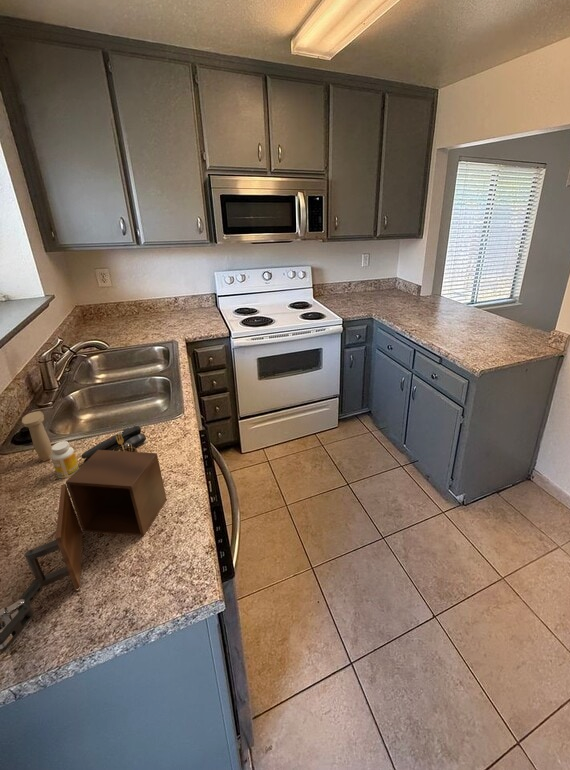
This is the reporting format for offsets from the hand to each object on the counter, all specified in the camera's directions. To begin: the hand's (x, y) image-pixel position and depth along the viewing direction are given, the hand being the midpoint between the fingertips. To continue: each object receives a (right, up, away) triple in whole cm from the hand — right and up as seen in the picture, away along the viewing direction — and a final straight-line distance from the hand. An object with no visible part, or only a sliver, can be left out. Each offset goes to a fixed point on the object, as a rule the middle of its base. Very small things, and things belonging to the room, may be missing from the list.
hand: (18, 579), depth 68 cm
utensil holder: (+1, +6, +38) cm, 38 cm away
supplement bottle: (-17, +6, +37) cm, 41 cm away
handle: (-28, +8, +43) cm, 52 cm away
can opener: (-9, +10, +46) cm, 48 cm away
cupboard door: (+1, -4, +10) cm, 11 cm away
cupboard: (+8, +1, +23) cm, 24 cm away
